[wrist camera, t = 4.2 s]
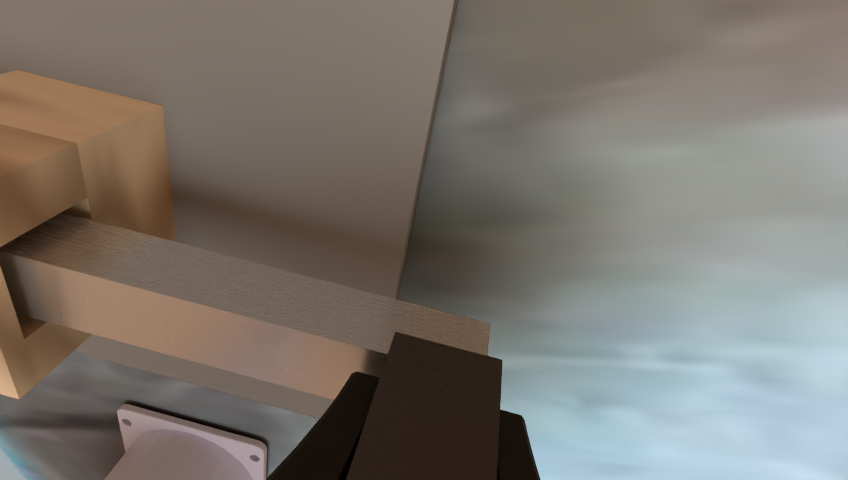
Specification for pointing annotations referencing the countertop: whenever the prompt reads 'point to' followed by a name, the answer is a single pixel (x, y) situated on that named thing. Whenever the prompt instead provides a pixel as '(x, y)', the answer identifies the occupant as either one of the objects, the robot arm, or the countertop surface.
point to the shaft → (276, 337)
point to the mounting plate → (263, 131)
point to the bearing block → (72, 191)
